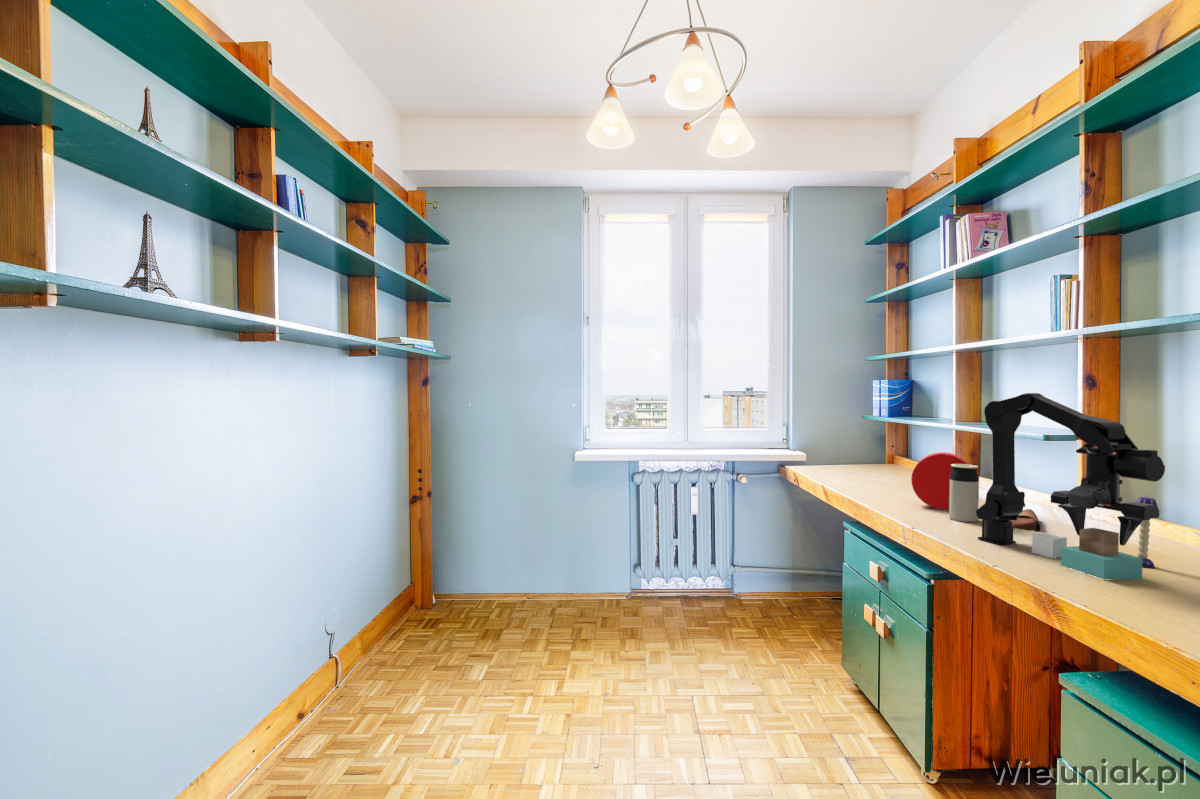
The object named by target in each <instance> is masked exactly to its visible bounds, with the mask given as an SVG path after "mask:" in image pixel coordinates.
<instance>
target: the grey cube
mask: <svg viewBox="0 0 1200 799" xmlns="http://www.w3.org/2000/svg"><path fill="white" fill-rule="evenodd" d="M1067 541H1068V538H1067V537H1065V536H1060V535H1056V534H1052V533H1048V532H1041V533H1032V536H1031V554H1035V553H1036V554H1035V555H1038V554H1040V555H1039V556H1042V555H1044V556H1043V557H1046V556H1047V557H1046V558H1049V557H1051V558H1050V559H1056V558H1055V557H1060V558H1061V547H1068V544H1067V543H1068V542H1067Z"/></svg>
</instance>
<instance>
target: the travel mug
mask: <svg viewBox="0 0 1200 799" xmlns="http://www.w3.org/2000/svg"><path fill="white" fill-rule="evenodd" d="M951 466H952V472H951V473H950V497H949V510H948V517H949V518H950V519H951V520H953V521H956V520H957V521H956V522H961V521H963V522H962V523H977V522H978V521H979V519H978V517H977V514H976V510H978V509H979V502H980V501H979V498H980V497H979V496H980V492H979V490H980V488H979V487H980V476H979V474H978V468H979V465H974V464H970V465H968V464H951Z"/></svg>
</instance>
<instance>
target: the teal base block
mask: <svg viewBox="0 0 1200 799" xmlns="http://www.w3.org/2000/svg"><path fill="white" fill-rule="evenodd" d="M1061 565H1062V566H1065V567H1068V568H1072V569H1075V570H1078V571H1081V572H1084V573H1086V574H1090V575H1093V576H1096V577H1099V578H1102V579H1122V580H1139V579H1140V578H1142V579H1143V567H1142V558H1140V557H1138V556H1135V555H1133V554H1130V553H1129V554H1128V553H1124V552H1122V551H1118V554H1117V555H1109V556H1101V555H1097V554H1093V553H1089V552H1085V551H1081V550H1079V545H1076V546H1067V547H1061V557H1060V566H1061ZM1062 566H1061V567H1062ZM1065 567H1064V568H1065ZM1068 568H1067V569H1068ZM1086 574H1085V575H1086Z"/></svg>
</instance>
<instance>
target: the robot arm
mask: <svg viewBox="0 0 1200 799" xmlns="http://www.w3.org/2000/svg"><path fill="white" fill-rule="evenodd" d="M983 412H984V418H985V423H986V425H987V426H988V428H989V429H990V431H991V433H992V437H991V438H992V484H991V486H990V487H989V489H988V491H987V492H986V496H985V502H984V504H982V506H980V507H978V510H976V514H977V517H978V520H981V521H982V522H981V524H982V525H981V536H978V537H977V540H980V541H985V542H989V543H993V544H996V545H1009V544H1016V543H1017V541H1016V540H1014V528H1013V527H1012V521H1011V520H1014V521H1016V520H1017V518H1018V516H1019V514H1020V513H1021V512H1022V511H1023V510H1024V508H1025V507H1026V504H1025V496H1026V495H1025V491H1020V490H1019V489H1018V488H1017V486H1016V478H1015V476H1016V472H1015V467H1016V466H1015V463H1016V462H1015V453H1016V452H1015V450H1016V449H1015V434H1016V431H1017V430H1018V428H1019V426H1021V423H1022V418H1023V416H1024V415H1027V414H1029V413H1031V412H1034V413H1036V414H1039V415H1041V416H1042V417H1044V418H1046V419H1048V420H1051V421H1053V422H1055V423H1057V424H1059V425H1061V426H1064V427H1065V428H1068V429H1069V430H1070V431H1071V432H1072V433H1073V435H1074V436H1075V437H1077V438H1078V439H1080V440H1081V441H1083V442H1084V444H1083V445H1082V446H1081V447H1079V448H1077V449H1076V450H1075V452H1076V453H1077V454H1084V455H1086V456H1085V458H1086V459H1085V460H1086V461H1085V463H1086V464H1085V477H1081V481H1080V485H1078V486H1075V487H1074V488H1072V489H1070V490H1059V491H1058V490H1055V491H1053V492H1052V493H1051V495H1050V503H1053V504H1057V507H1058V508H1060V509H1063V510H1064V511H1065V512H1066V513H1067V515H1068V516H1069V518H1070V521H1071V523H1072V525H1073V527H1074V529H1075V532H1076V535H1077V536H1078V537H1079V532H1080V529H1085V525H1086V524H1085V523H1086V514H1087V510H1092V509H1094V508H1100V509H1105V510H1106V509H1107V510H1112V511H1118V512H1120V513H1121V514H1122V515H1119V516H1116V517H1117V519H1118V521H1119V545H1120V546H1125V545H1126V544H1127V543H1128V542H1129V540H1130V538H1131V536H1132V535H1133V533H1134V532H1135V530H1136V529H1137V528H1138V527H1139V526H1140V524H1141V522H1142V521H1144V520H1149V519H1150V520H1151V519H1157V518H1158V519H1159V518H1160V515H1159V514H1160V509H1159V507H1158V508H1157V507H1156V506H1155V505H1152V504H1146V503H1140V502H1137V501H1133V502H1131V501H1130V502H1123V496H1119V486H1120V485H1123V481H1124V480H1123V479H1120V477H1121V478H1127V479H1131V480H1132V479H1133V480H1139V481H1148V482H1155V483H1156V482H1158V481H1160V480H1161V479H1162V478H1163V476H1164V474H1165V470H1166V466H1165V464H1164V461H1163V460H1162V458H1161V457H1160V456H1159V455H1158V454H1159V453H1158V452H1159V451H1158V450H1156V449H1139V448H1138V447H1137V446H1136V444H1135V443H1134V442H1133V440H1132V439H1131V438H1130V437H1129V436H1128V434H1127V433H1126V430H1125V426H1124V425H1123V424H1121V423H1120V422H1118V421H1114V420H1110V419H1107V418H1102V417H1097V416H1091V415H1088V414H1084V413H1082V412H1079V411H1077V410H1075V409H1073V408H1070V407H1068V406H1066V405H1064V404H1061V403H1059V402H1057V401H1054V400H1053V399H1050V398H1048V397H1046V396H1044V395H1043V394H1041V393H1038V392H1025V393H1022V394H1020V395H1017V396H1013V397H1010V398H1007V399H1002V400H994V401H990V402H988V404H987V405H985V407H984V411H983Z"/></svg>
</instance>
